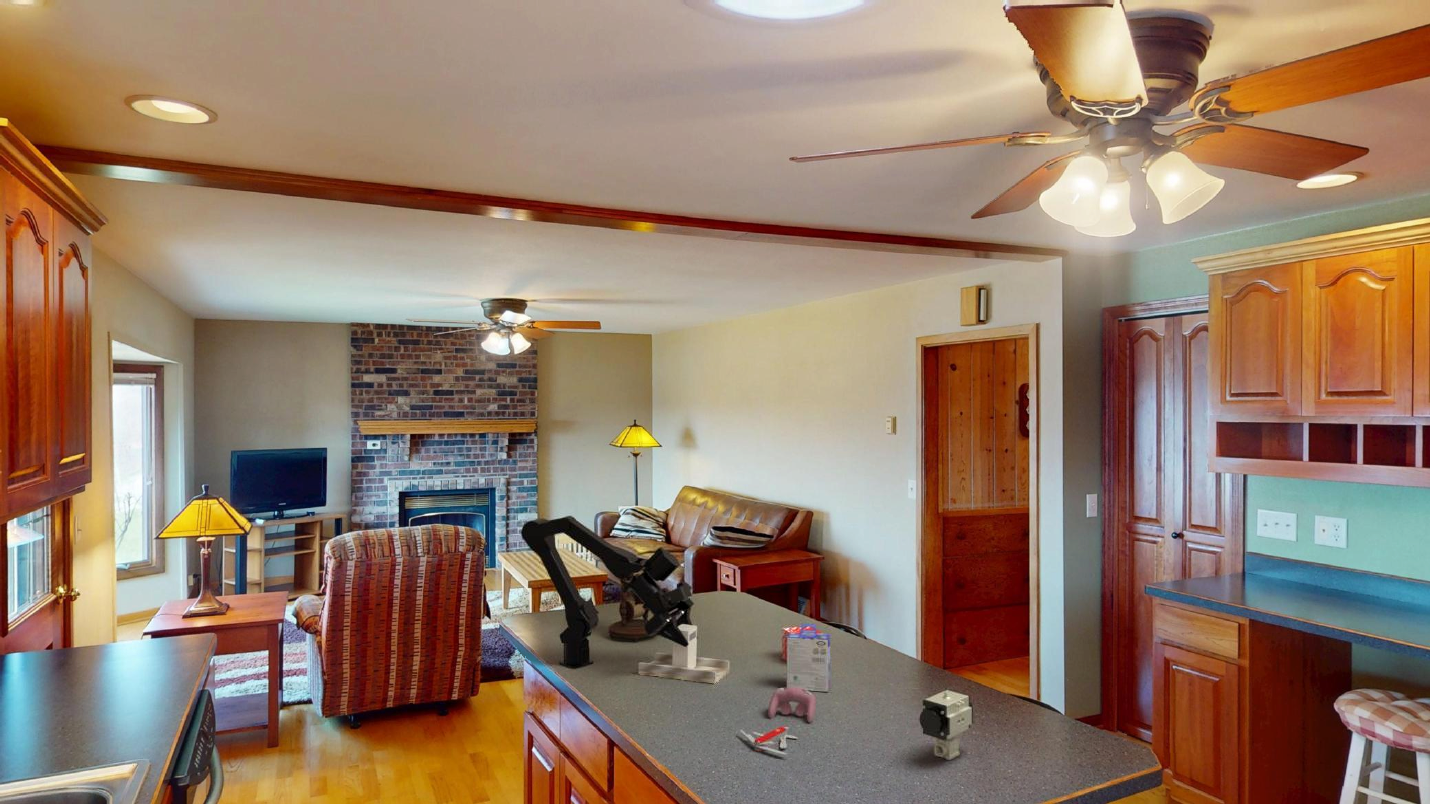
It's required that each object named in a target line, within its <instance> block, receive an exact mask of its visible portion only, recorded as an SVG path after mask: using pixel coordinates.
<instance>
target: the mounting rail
mask: <svg viewBox="0 0 1430 804" xmlns="http://www.w3.org/2000/svg"><path fill="white" fill-rule="evenodd" d="M653 656H654V657H653V660H652V661H651V662H644V661H643V662H641V661H640V662H638V675H639V674H644V675H649V676H648V677H652V676H659V677H658V678H660V677H664V678H663V679H668V678H674V679H673V680H676V679H681V680H680V681H684V680H691V681H690V682H692V681H697V682H696V683H699V682H708V683H714V684H713V685H716V684H717V683H719V682H720V681H721V680H722V679H723V678H724V677H726V674H727V675H728V674H729V673H730V660H727V659H718V658H717V659H716V658H711V657H710V658H709V657H708V658H707V657H700V656H699V657H698V656H696V667H694V668H685V667H676V666H672V662H673V653H664V652H657V651H656V652H654V654H653ZM644 675H643V676H644ZM723 676H724V677H723ZM721 678H722V679H721ZM720 679H721V680H720ZM719 680H720V681H719ZM716 682H717V683H716ZM715 683H716V684H715Z"/></svg>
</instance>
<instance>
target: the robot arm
mask: <svg viewBox="0 0 1430 804" xmlns="http://www.w3.org/2000/svg"><path fill="white" fill-rule="evenodd" d="M559 534H565V536H568V537H569V538H570V539H571V540H573V541H574V542H576V543H577V544H579V545H581V546H582V547H583V548H584V549H586V550H587V551H589V552H590V553H591V554H593V555H594V556H596V557H597V558H599V560H601V562H602V563H603V565H604V566H605V568H606V569H607V570H608V571H609V572H610V573H611V574H612V575H613V576H614V577H616V578H617V579H619V580H620V579H624V578H627V577H629V576H631V575H632V574H634V573H638V572H640V571H641V570H643V569H644V568H646V570H645V571H644V572H643V573H642V574H636V575H635V576H634V577H633V578H632V579H631V580H630V581H624V582H623V583H624V587H623V593H626V592H629V591H630V590H631V589H632V590H633V591H634V593H635V594H636V596H637V598H638V597H639V598H640V600H641V601H642V602H643V603H644V605H643V606H642V607H643V608H644V610H645V609H647V608H648V609H649V612H650V613H651V615H653V616H652V617H650V619H648V620H649V621H648V622H647V623H646V624H645V625H644V631H645V632H646V633H647V634H648V636H649V637H652V636H651V635H653V634H654V633H655V630H656V629H657V628H658V630H659V631H658V632H657V633H656V635H655V636H659V637H662V638H665V639H668V640H670V641H672V643H673V642H676V643H678V644H680V645H682V646H684V647H687V646H688V645H689V643H688V642H687V640H686V638H685V637H684V635H683V634H682V632H681V631H680V630H679V628H678V626H680V625H681V624H686V625H693V623H692V621H691V618H690V616H691V615H690V614H691V611H692V606H694V605H695V603H694V601H692V599H691V598H690V597H692V596H693V594H692V592H691V590H692V586H691V585H689V583H687V581H685V580H683V581H681V582H678V583H676V588H674V589H672V590H669V589H668V588H667V587H663V588H662V587H661V586H660V585H659V583H657V582H665V581H666V580H667V579H668V578H669V577H670V576H671V575H672V574H673V573H674V572H675V571H677V569H678V568H679V567H680V561H679V560H678V558H677V557H676V556H675V555H674V554H673V553H671V552H669V550H666V549H665V548H663V547H662V546H660V547H658V548H657V549H656V550H655V552H654V553H653V554H652V555H651V556H650V557H649V558H643V557H638V555H636V554H635V553H633V552H631V551H629V550H627V549H626V548H623V547H619V546H616V545H613V544H611V543H610V542H608V541H607V540H605V539H604V538H602V537H601V536H600V535H598V534H597V533H596V532H594V531H592V530H591V529H590V528H588V526H585V524H582V523H581V522H579V520H577V519H576V518H575V517H574V516H572V515H566V516H563V517H559V518H555V519H549V520H548V519H546V518H543V517H539V518H536V519H533V520H529V521H527V522H525V523H524V525H523V526H522V528H521V531H520V535H521V537H522V539H523V540H524V542H525V544H526V545H527V546H528V548H529V549H530V550H532V552H534V553H535V554H536V555H537V556H538V557H539V558H540V561H541V563H542V564H543V566H544V568H545V570H546V572H547V574H548V576H549V579H550V580H551V583H552V584H553V586H554V588H555V590H556V592H557V593H558V596H559V597H560V599H561V602H562V604H563V605H564V614H565V621H566V624H567V627H566V628H565V629H564V630H563V631H562V632H561V633H560V634H559V636H558V637H559V639H560V642H561V644H563V660H560V661H558V664H559V665H562V666H565V667H567V668H571V669H579V668H581V667H584V666H588V665H592V664H594V660H592V659H590V657H591V656H590V655H591V654H590V651H591V650H590V649H591V648H590V640H589V639H588V638H589V637H590V636H591V634H592V632H593V631H594V630H595V629H596V628H597V627H598V623H599V621H600V619H599V613H600V612H599V611H598V610H597V609H596V606H595V605H594V602H593V600H592V599H588V600H585V598H583V597H582V595H581V594H580V592H579V590H578V588H577V586H576V584H575V583H574V580H573V578H572V576H571V574H570V572H569V571H568V569H567V567H566V565H565V563H564V561H563V559H562V557H561V554H560V553H559V551H558V549H557V547H556V535H559ZM653 636H654V635H653ZM698 638H699V637H698V636H697V640H698Z"/></svg>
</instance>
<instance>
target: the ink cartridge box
mask: <svg viewBox="0 0 1430 804" xmlns="http://www.w3.org/2000/svg"><path fill="white" fill-rule="evenodd" d="M800 627H801V632H800V633H789V635H788V637H787V661H786V687H796V688H801V689H804V690H807V691H809V692H810V691H811V692H812V691H813V692H825V693H826V692H827V693H828V692H829V690H830V687H831V635H830V633H823V634H817V630H818V628H817V624H816V623H803V622H801V626H800ZM804 627H812V628H814V630H804V629H803V628H804Z"/></svg>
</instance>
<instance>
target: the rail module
mask: <svg viewBox="0 0 1430 804" xmlns="http://www.w3.org/2000/svg"><path fill="white" fill-rule="evenodd" d="M678 628H679V630H680V631H681V632H682V634H683V635H684V637H685V638H686V640H687V642H688V643H689V645H688V646H687V647H684V646H682V645H680V644H678V643H676V642H673V641H672V654H673V662H672V666H676V667H685V668H694V667H696V657H697V644H698V643H697V640H698V639H697V637H698V626H697V625H694V624H692V625H686V624H681V625H680V626H678Z"/></svg>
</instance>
